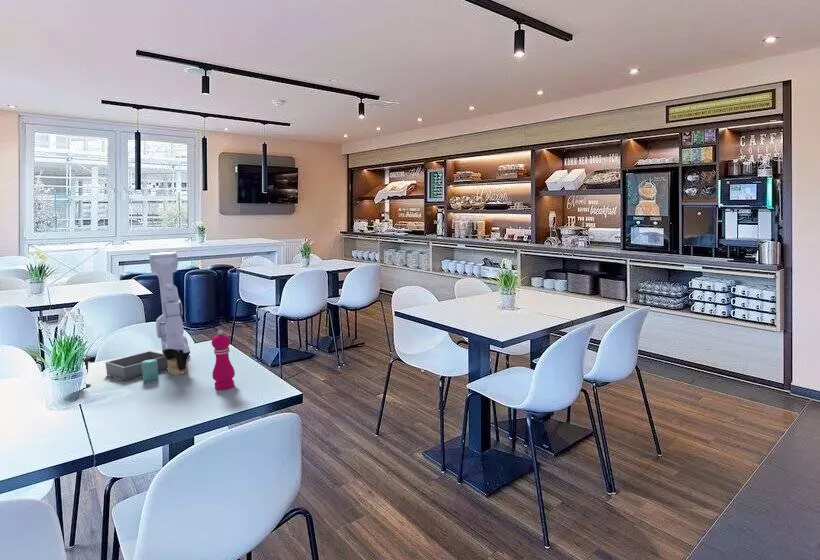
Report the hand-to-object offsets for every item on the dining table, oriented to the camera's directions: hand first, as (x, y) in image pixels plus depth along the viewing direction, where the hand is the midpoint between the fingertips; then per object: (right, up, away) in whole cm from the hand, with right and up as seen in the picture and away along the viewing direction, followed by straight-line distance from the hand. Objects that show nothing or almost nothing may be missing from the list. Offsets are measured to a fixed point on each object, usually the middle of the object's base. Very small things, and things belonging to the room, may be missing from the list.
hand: (177, 368), depth 193 cm
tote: (-16, -2, +2) cm, 16 cm away
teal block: (-6, -3, -8) cm, 11 cm away
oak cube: (0, -2, 0) cm, 2 cm away
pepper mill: (+24, -4, -17) cm, 30 cm away
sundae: (-27, -4, -14) cm, 31 cm away
